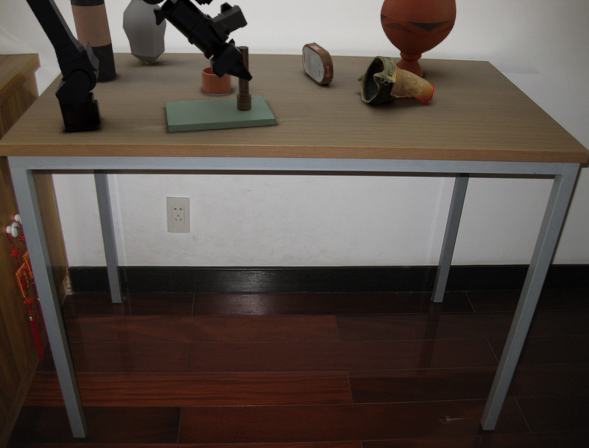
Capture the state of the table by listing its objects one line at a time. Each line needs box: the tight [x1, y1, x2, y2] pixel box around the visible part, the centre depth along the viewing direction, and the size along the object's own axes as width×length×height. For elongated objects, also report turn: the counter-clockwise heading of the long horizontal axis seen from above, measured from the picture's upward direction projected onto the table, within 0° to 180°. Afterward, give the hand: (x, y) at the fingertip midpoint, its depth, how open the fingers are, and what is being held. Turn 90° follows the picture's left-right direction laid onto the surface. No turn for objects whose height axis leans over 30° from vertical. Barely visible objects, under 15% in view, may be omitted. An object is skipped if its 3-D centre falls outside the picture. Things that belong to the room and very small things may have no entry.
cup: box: [200, 65, 233, 95], centre depth 119 cm, size 7×7×5 cm
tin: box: [301, 42, 335, 85], centre depth 128 cm, size 15×3×8 cm, turn 22°
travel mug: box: [69, 0, 117, 83], centre depth 120 cm, size 8×8×20 cm
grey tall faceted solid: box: [122, 0, 168, 65], centre depth 128 cm, size 11×11×30 cm
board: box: [165, 96, 276, 133], centre depth 107 cm, size 22×13×2 cm, turn 104°
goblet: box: [379, 0, 457, 78], centre depth 130 cm, size 19×19×25 cm
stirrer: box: [236, 45, 252, 111], centre depth 105 cm, size 3×3×13 cm
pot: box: [356, 55, 435, 105], centre depth 116 cm, size 17×11×18 cm
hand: (250, 77), depth 105 cm, fingers closed on stirrer, 2 cm apart
